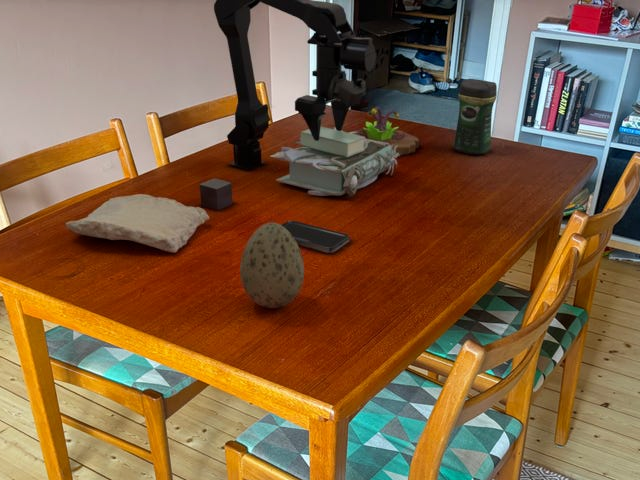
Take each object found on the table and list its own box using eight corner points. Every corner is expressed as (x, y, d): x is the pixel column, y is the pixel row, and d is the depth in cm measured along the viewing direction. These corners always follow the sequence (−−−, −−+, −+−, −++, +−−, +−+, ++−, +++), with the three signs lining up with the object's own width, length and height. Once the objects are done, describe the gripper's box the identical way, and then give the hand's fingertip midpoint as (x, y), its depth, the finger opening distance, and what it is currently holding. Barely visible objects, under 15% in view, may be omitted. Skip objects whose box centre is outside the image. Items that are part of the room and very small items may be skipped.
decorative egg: (316, 308, 128) (316, 227, 120) (262, 326, 122) (258, 242, 114) (283, 284, 135) (281, 206, 127) (231, 300, 130) (225, 220, 122)
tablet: (166, 266, 142) (213, 219, 157) (159, 231, 138) (208, 186, 152) (60, 251, 149) (115, 207, 164) (50, 217, 145) (107, 175, 159)
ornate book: (345, 209, 168) (407, 169, 189) (345, 168, 163) (409, 131, 183) (265, 189, 178) (332, 153, 199) (263, 150, 173) (332, 117, 193)
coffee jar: (493, 150, 203) (503, 80, 193) (480, 157, 198) (489, 85, 188) (462, 144, 208) (470, 74, 198) (448, 150, 203) (455, 79, 193)
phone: (290, 219, 157) (351, 235, 151) (290, 224, 158) (351, 240, 152) (268, 232, 152) (331, 249, 145) (268, 237, 152) (331, 254, 146)
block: (201, 205, 166) (199, 184, 164) (216, 199, 170) (214, 178, 167) (217, 210, 164) (216, 189, 161) (232, 204, 168) (231, 182, 165)
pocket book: (300, 145, 178) (300, 131, 176) (318, 138, 182) (318, 125, 180) (347, 157, 171) (347, 143, 169) (364, 150, 175) (365, 136, 173)
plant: (327, 145, 205) (327, 104, 199) (377, 132, 216) (378, 92, 210) (379, 164, 193) (381, 120, 186) (428, 149, 204) (432, 107, 198)
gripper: (335, 79, 157) (333, 152, 165) (381, 64, 170) (377, 133, 178) (292, 71, 162) (293, 142, 170) (340, 58, 175) (339, 124, 183)
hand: (327, 135), depth 176 cm, fingers open, 9 cm apart
